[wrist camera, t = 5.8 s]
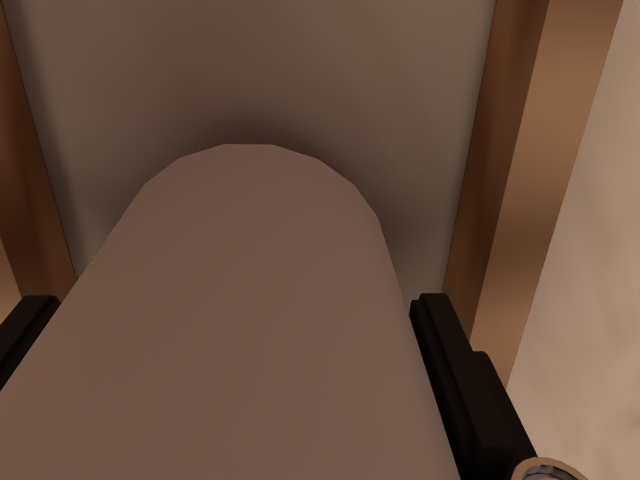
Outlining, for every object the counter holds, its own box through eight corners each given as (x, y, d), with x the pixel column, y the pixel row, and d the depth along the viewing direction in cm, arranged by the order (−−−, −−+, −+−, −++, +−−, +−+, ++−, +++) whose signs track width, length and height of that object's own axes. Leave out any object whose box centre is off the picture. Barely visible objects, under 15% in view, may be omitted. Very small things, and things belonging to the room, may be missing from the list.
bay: (-121, -172, 11) (-1090, -487, 3) (590, -143, 11) (1136, -344, 4) (72, 413, 20) (-62, 681, 13) (457, 408, 21) (547, 657, 13)
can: (433, 254, 15) (772, 981, 4) (263, 382, 17) (210, 1047, 7) (248, 68, 12) (-155, 928, 1) (75, 255, 14) (-553, 1081, 4)
